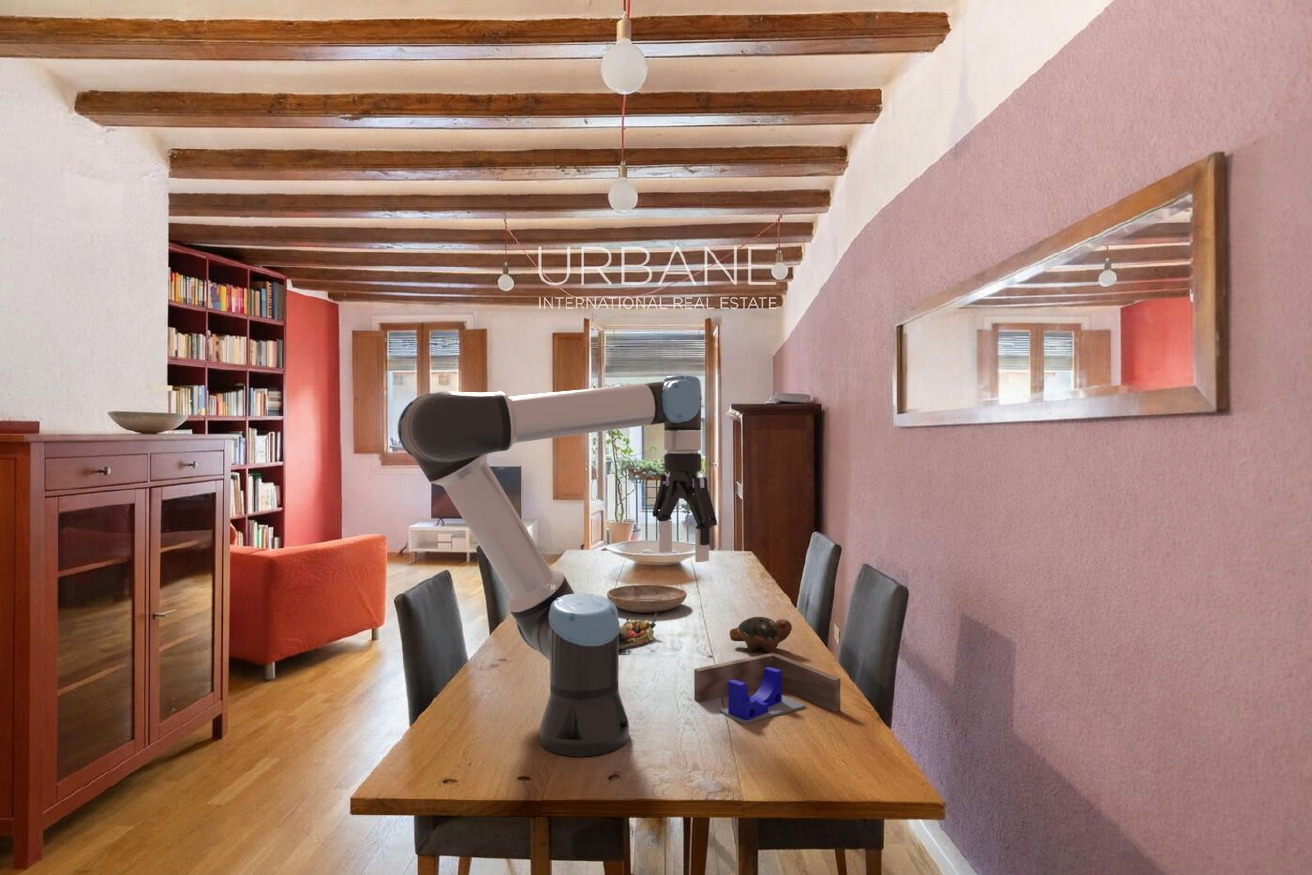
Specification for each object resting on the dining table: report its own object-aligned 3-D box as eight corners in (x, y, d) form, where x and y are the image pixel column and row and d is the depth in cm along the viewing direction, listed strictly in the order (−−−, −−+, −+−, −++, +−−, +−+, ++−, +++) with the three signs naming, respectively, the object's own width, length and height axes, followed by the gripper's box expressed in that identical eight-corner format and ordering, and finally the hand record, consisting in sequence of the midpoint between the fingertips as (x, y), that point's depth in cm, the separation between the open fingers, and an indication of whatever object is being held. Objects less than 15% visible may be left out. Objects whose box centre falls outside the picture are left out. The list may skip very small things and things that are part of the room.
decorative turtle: (791, 658, 170) (788, 623, 169) (726, 656, 174) (724, 623, 174) (796, 644, 179) (793, 611, 179) (734, 643, 183) (731, 611, 183)
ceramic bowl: (687, 618, 206) (687, 600, 206) (603, 618, 207) (603, 600, 207) (685, 599, 230) (685, 583, 230) (610, 599, 230) (610, 583, 230)
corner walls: (756, 733, 127) (756, 699, 127) (694, 699, 144) (694, 668, 144) (840, 710, 138) (840, 678, 138) (773, 681, 154) (773, 652, 154)
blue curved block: (747, 720, 132) (747, 687, 132) (728, 713, 135) (728, 681, 135) (788, 703, 140) (788, 672, 140) (769, 697, 144) (769, 666, 143)
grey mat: (742, 724, 131) (742, 722, 131) (719, 711, 137) (719, 709, 137) (805, 707, 139) (805, 705, 139) (781, 696, 145) (781, 694, 145)
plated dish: (675, 628, 198) (675, 601, 198) (686, 662, 170) (685, 631, 170) (544, 632, 196) (543, 605, 196) (533, 667, 168) (532, 636, 168)
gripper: (734, 453, 141) (735, 563, 142) (666, 450, 163) (666, 546, 163) (702, 454, 138) (702, 567, 138) (636, 451, 159) (636, 549, 159)
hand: (683, 556), depth 150 cm, fingers open, 13 cm apart
